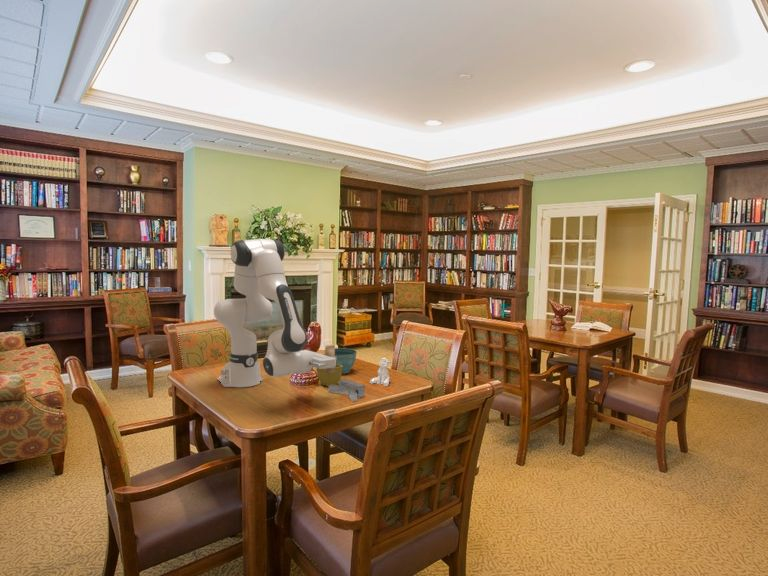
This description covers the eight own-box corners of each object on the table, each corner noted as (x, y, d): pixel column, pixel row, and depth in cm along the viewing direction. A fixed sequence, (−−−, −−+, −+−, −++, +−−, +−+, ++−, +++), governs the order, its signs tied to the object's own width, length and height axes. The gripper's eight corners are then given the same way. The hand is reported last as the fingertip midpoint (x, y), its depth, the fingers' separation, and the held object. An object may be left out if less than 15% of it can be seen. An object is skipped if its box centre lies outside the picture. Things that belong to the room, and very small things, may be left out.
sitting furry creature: (368, 384, 217) (369, 358, 217) (377, 379, 225) (378, 355, 224) (386, 387, 213) (387, 361, 212) (395, 382, 221) (395, 357, 220)
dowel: (322, 371, 195) (323, 345, 194) (330, 369, 197) (331, 344, 197) (328, 373, 192) (328, 346, 191) (336, 371, 194) (336, 345, 194)
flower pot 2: (362, 372, 238) (363, 351, 237) (339, 378, 226) (339, 356, 225) (341, 366, 249) (341, 346, 248) (317, 372, 237) (318, 351, 236)
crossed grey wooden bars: (326, 391, 203) (327, 380, 203) (341, 388, 209) (342, 377, 209) (353, 401, 190) (353, 389, 190) (368, 398, 196) (368, 386, 196)
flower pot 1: (328, 388, 208) (328, 369, 207) (315, 384, 214) (316, 365, 213) (342, 385, 214) (343, 365, 214) (330, 381, 220) (330, 362, 220)
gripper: (318, 358, 178) (347, 353, 187) (290, 349, 193) (318, 345, 202) (318, 374, 178) (346, 369, 187) (290, 364, 193) (317, 360, 202)
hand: (331, 356), depth 195 cm, fingers closed on dowel, 4 cm apart
